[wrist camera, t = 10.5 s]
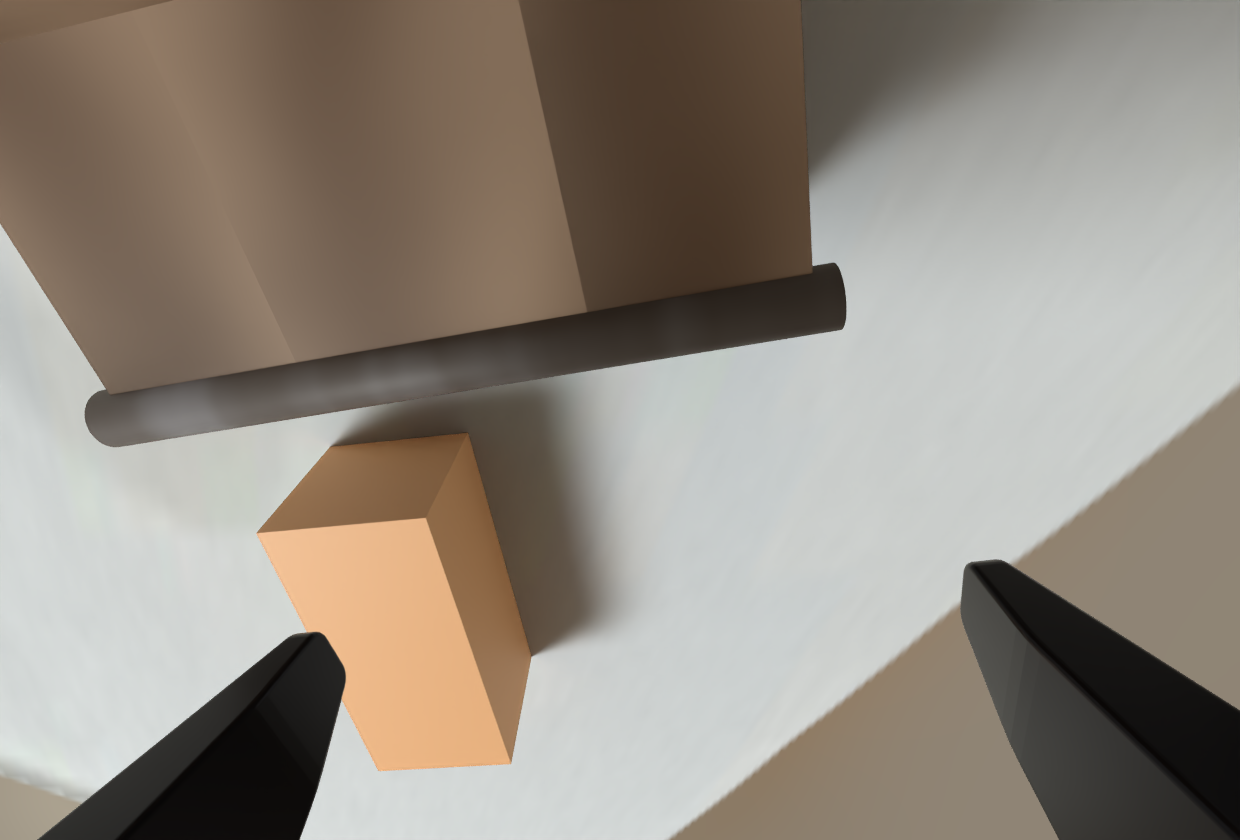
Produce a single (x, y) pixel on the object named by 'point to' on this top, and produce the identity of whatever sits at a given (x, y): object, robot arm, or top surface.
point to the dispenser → (401, 194)
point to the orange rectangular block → (408, 598)
